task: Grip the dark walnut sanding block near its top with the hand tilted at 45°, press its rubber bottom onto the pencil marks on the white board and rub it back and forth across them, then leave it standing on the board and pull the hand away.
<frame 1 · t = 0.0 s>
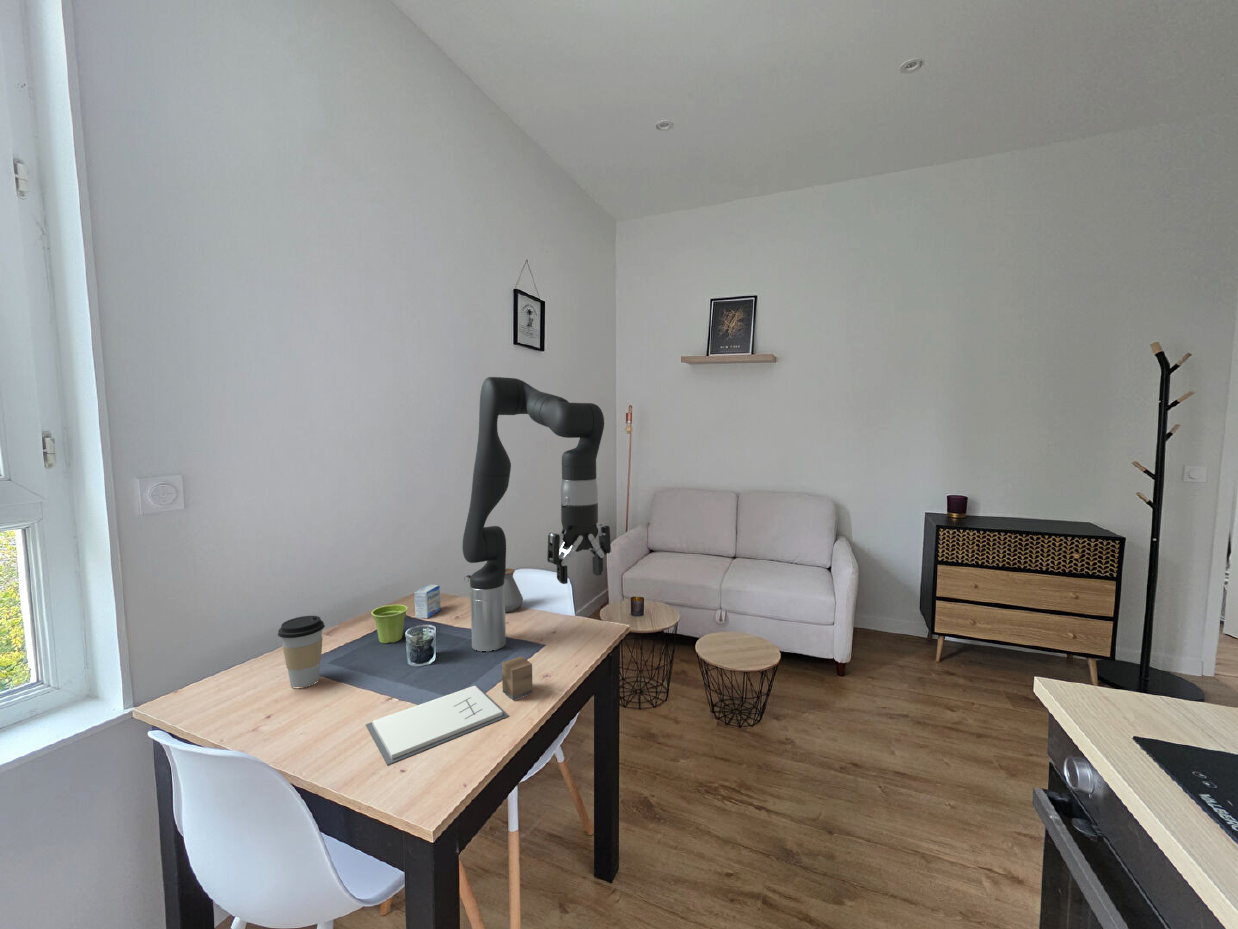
hand: (580, 578, 104), 29 cm above the table, tool pointing down, fingers open, 8 cm apart
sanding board: (438, 720, 104), on the table
sanding block: (517, 692, 115), on the table
coffee pot: (494, 613, 165), on the table
plant pot: (390, 640, 145), on the table
coffee cup: (304, 683, 121), on the table
medicine box: (428, 614, 165), on the table
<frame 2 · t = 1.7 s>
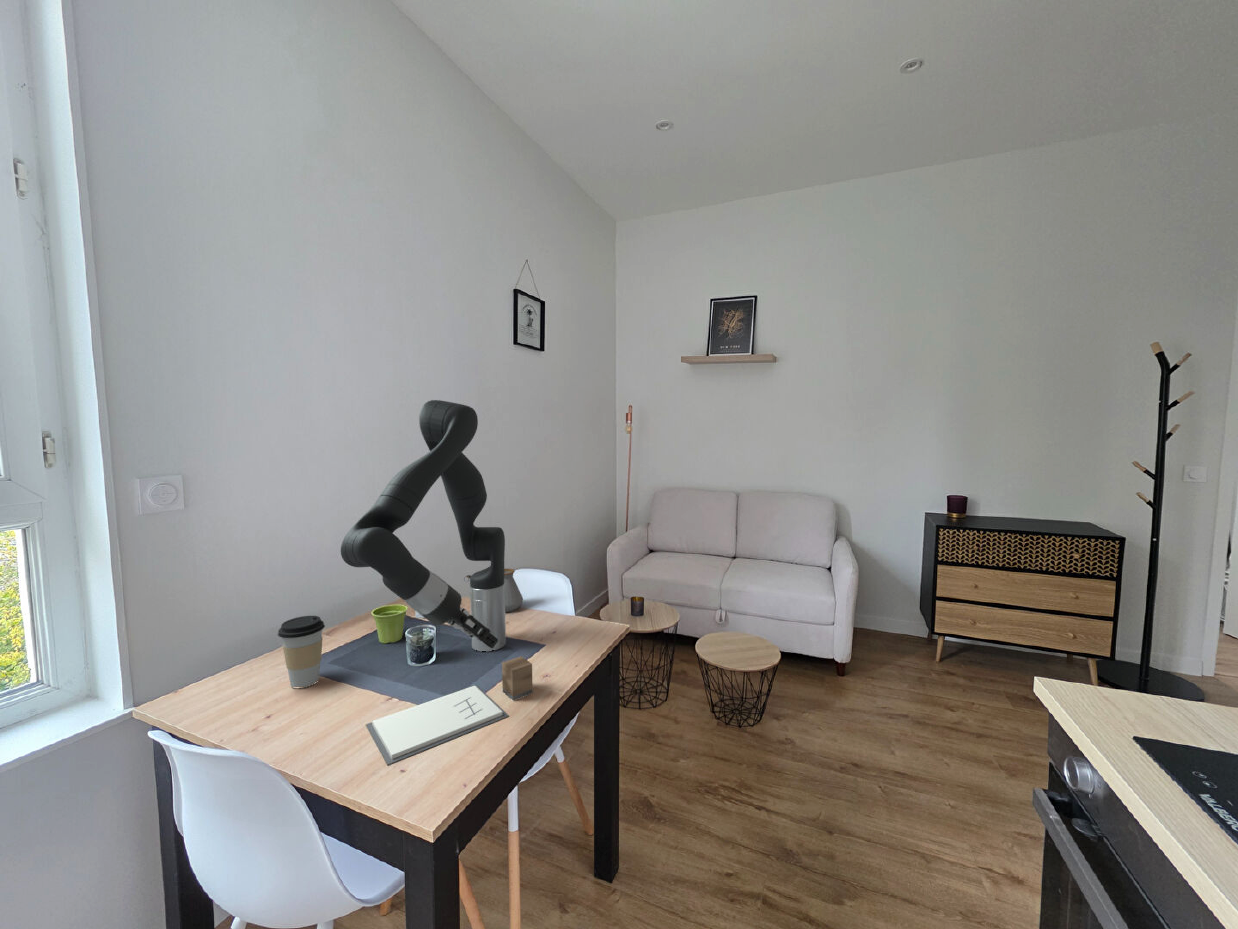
hand: (484, 638, 109), 15 cm above the table, tool tilted 45°, fingers open, 8 cm apart
nothing on the table moved.
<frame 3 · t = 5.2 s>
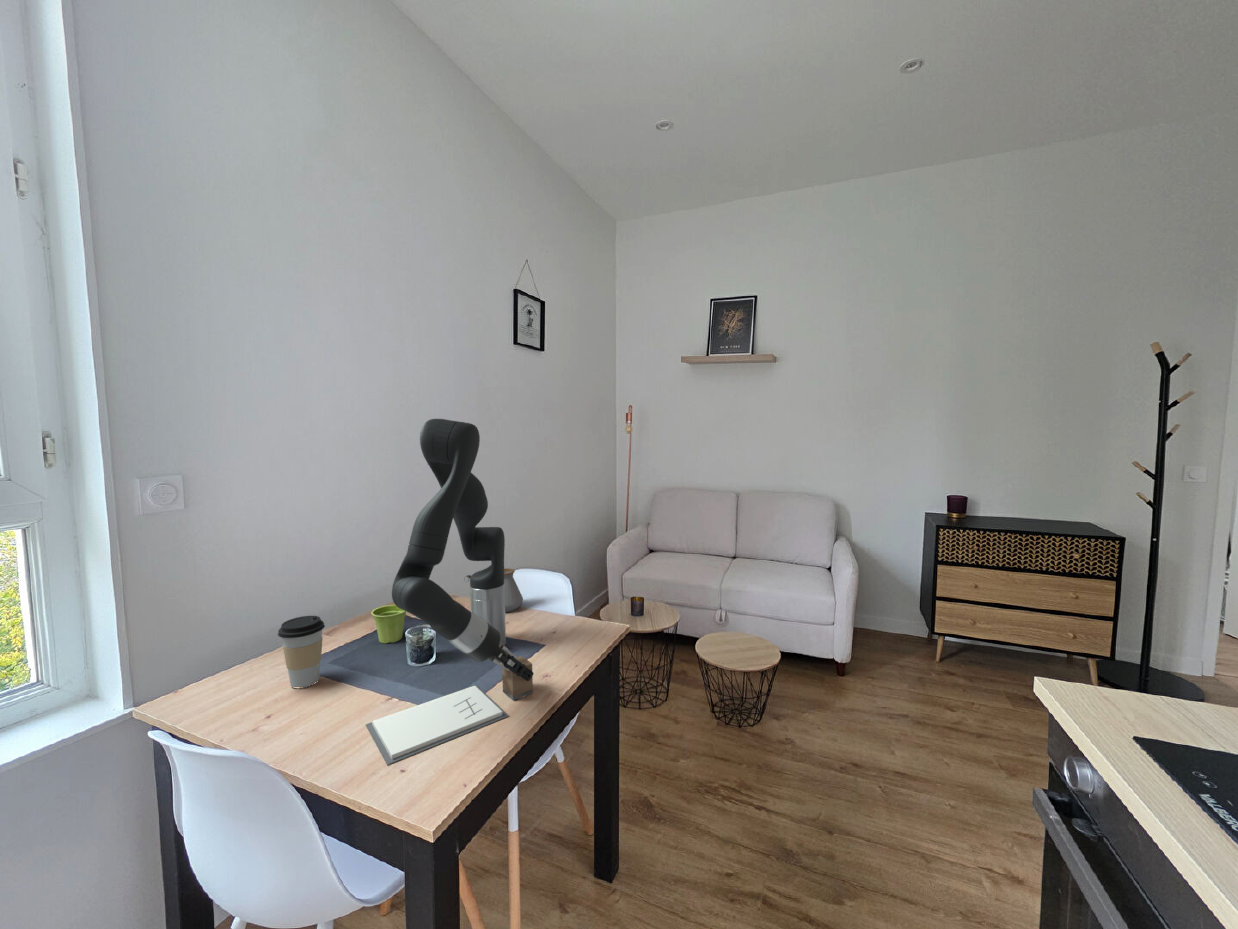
hand: (524, 672, 116), 4 cm above the table, tool tilted 45°, fingers closed on sanding block, 5 cm apart
sanding block: (517, 692, 115), on the table, touching gripper
everything else where it was.
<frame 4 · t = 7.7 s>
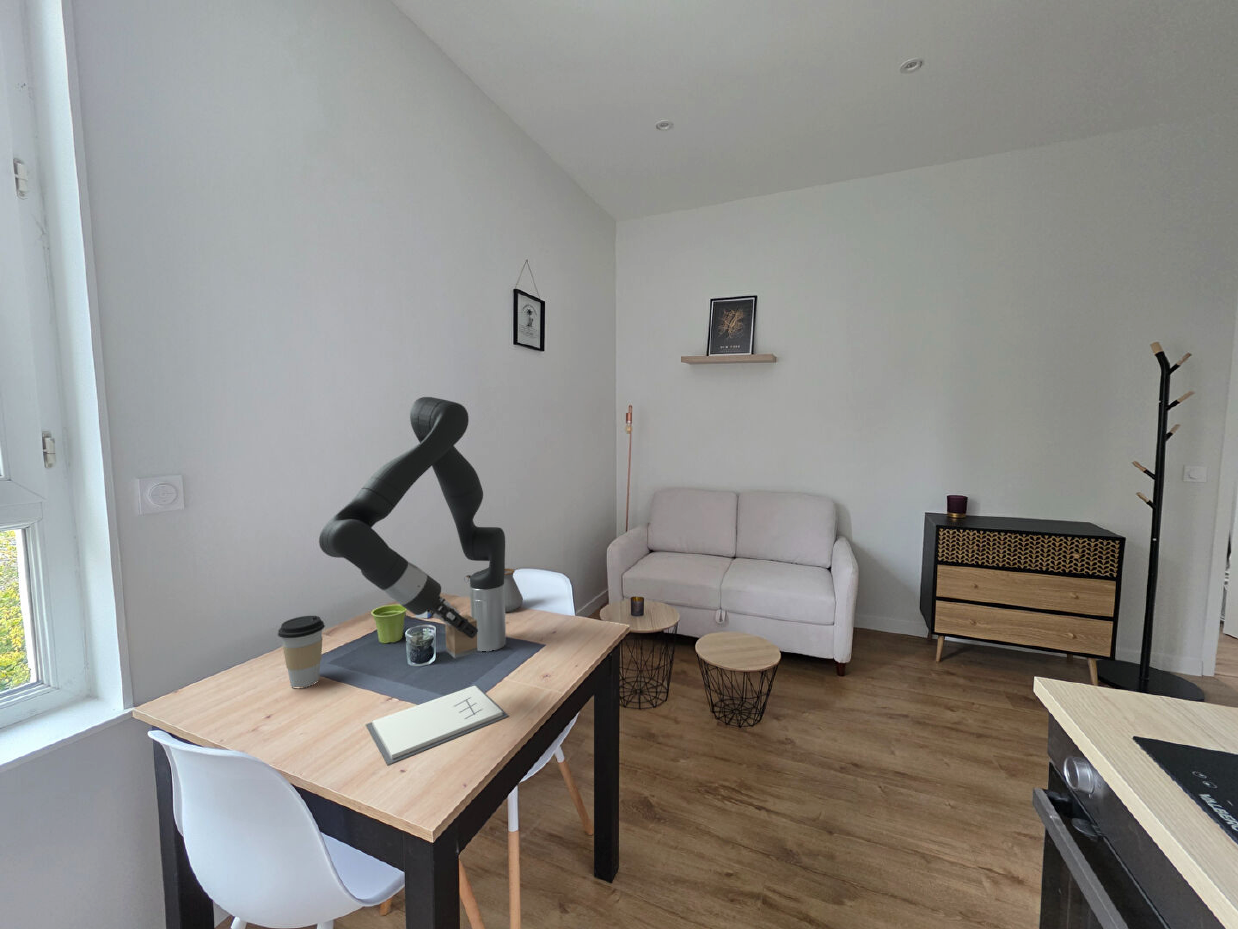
hand: (469, 630, 111), 16 cm above the table, tool tilted 45°, fingers closed on sanding block, 5 cm apart
sanding block: (461, 651, 110), point 12 cm above the table, touching gripper
everything else where it was.
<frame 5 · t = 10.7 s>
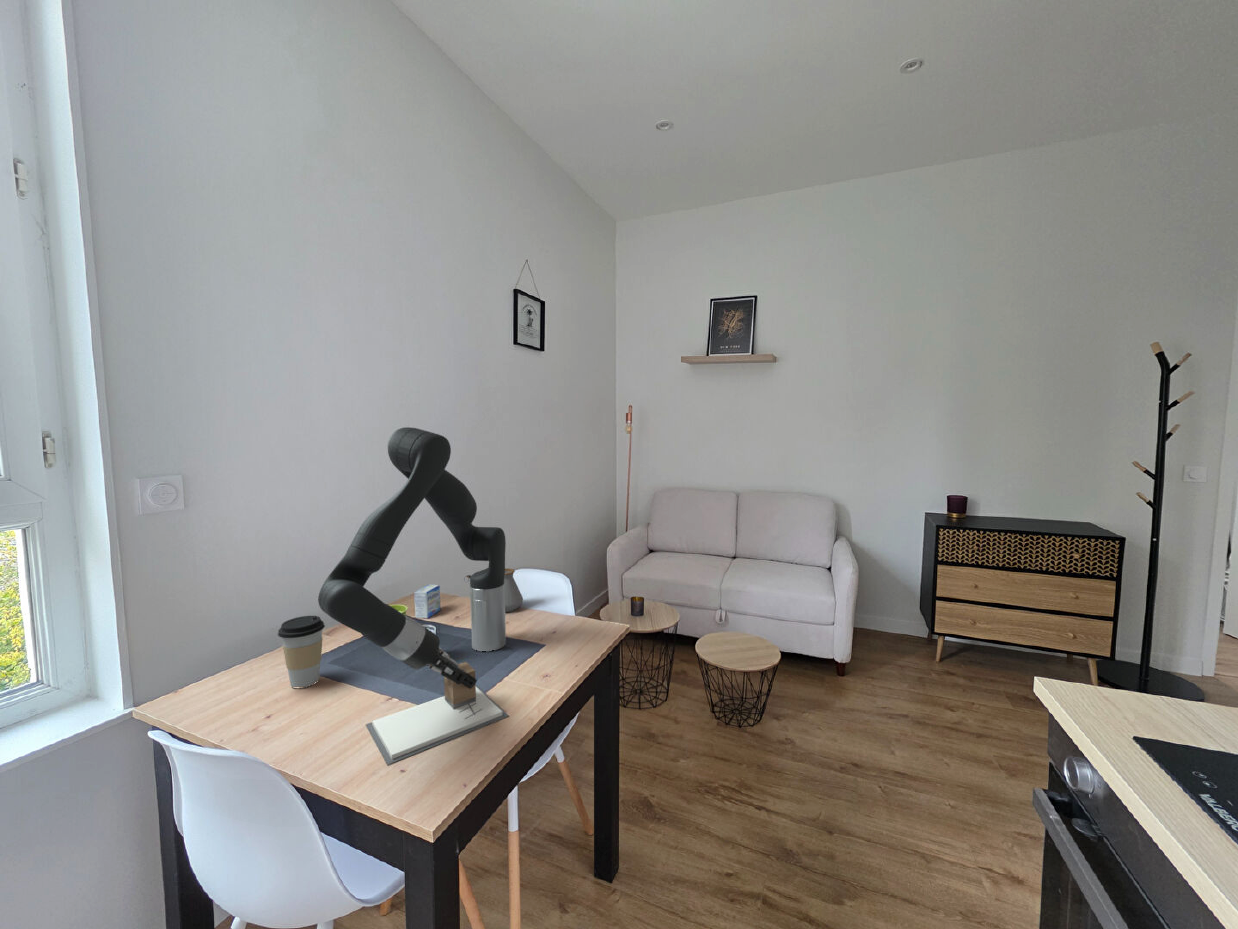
hand: (468, 679, 111), 5 cm above the table, tool tilted 45°, fingers closed on sanding block, 5 cm apart
sanding block: (460, 700, 110), point 1 cm above the table, touching gripper, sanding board
everything else where it was.
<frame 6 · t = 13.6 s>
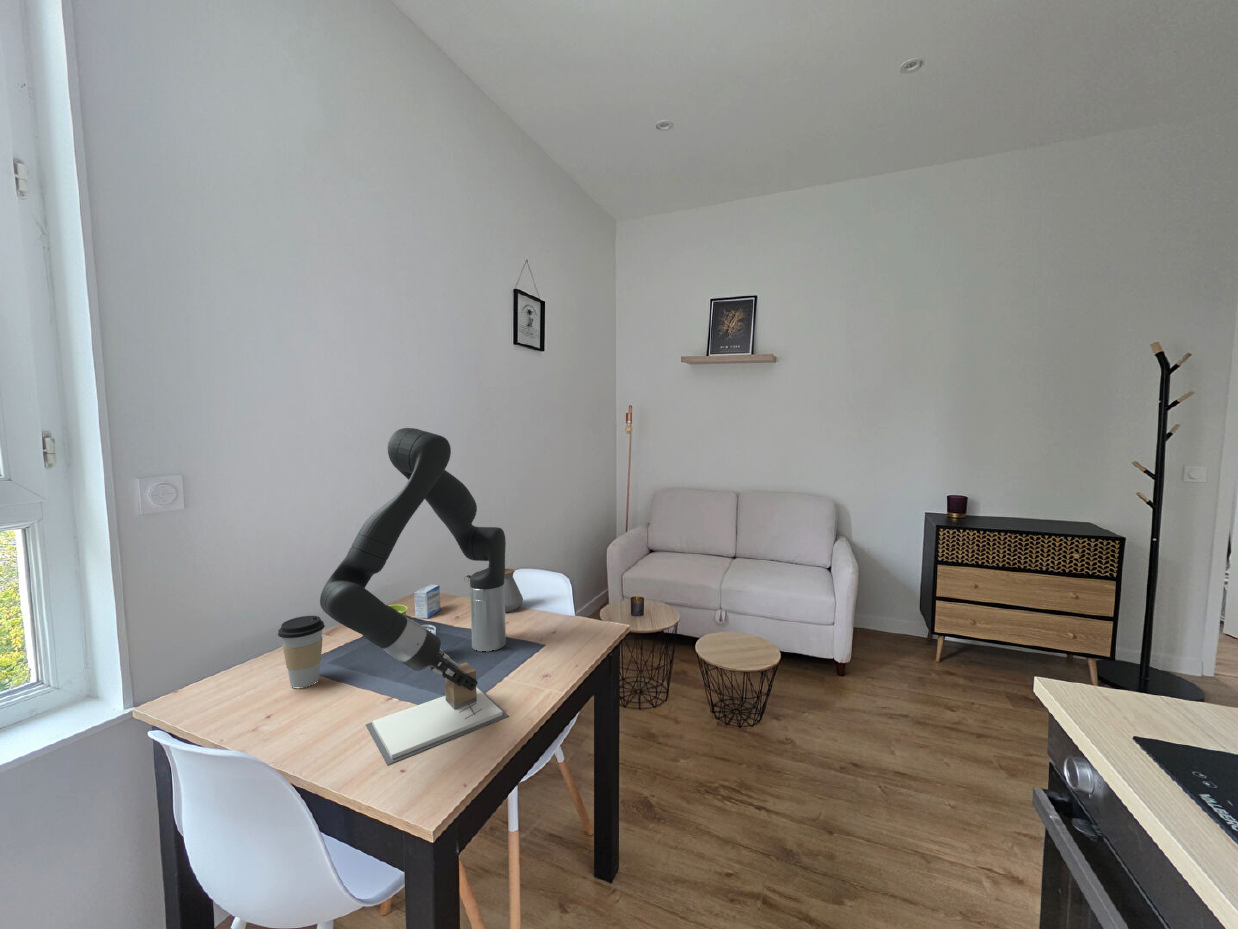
hand: (469, 681, 111), 5 cm above the table, tool tilted 45°, fingers closed on sanding block, 5 cm apart
sanding block: (461, 700, 110), point 1 cm above the table, touching gripper
everything else where it was.
when the fingers open (5 cm above the table, at t = 15.9 s): sanding block stays where it is, resting on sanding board.
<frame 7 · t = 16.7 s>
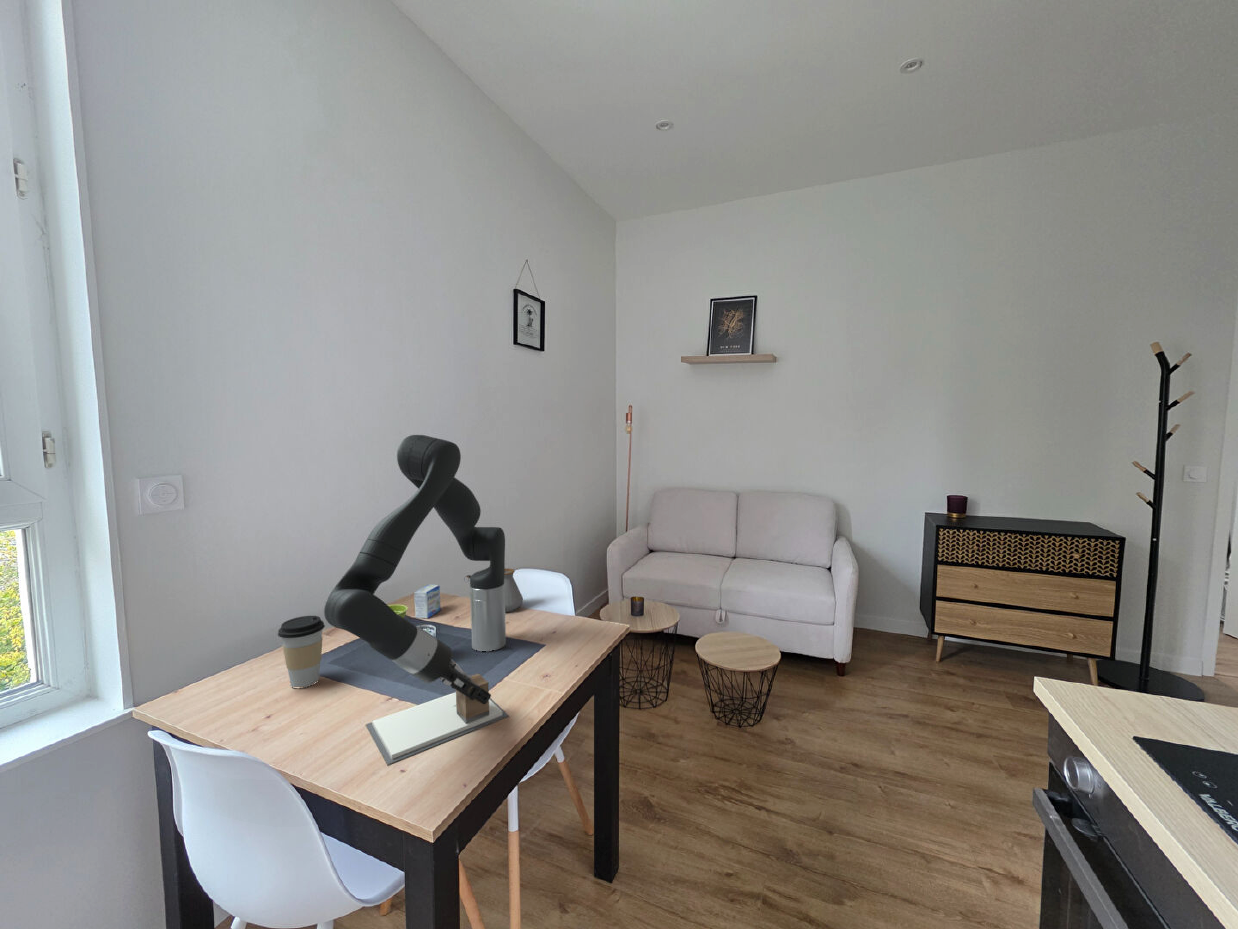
hand: (478, 691, 106), 6 cm above the table, tool tilted 45°, fingers open, 8 cm apart
sanding block: (472, 714, 105), point 1 cm above the table, touching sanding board
everything else where it was.
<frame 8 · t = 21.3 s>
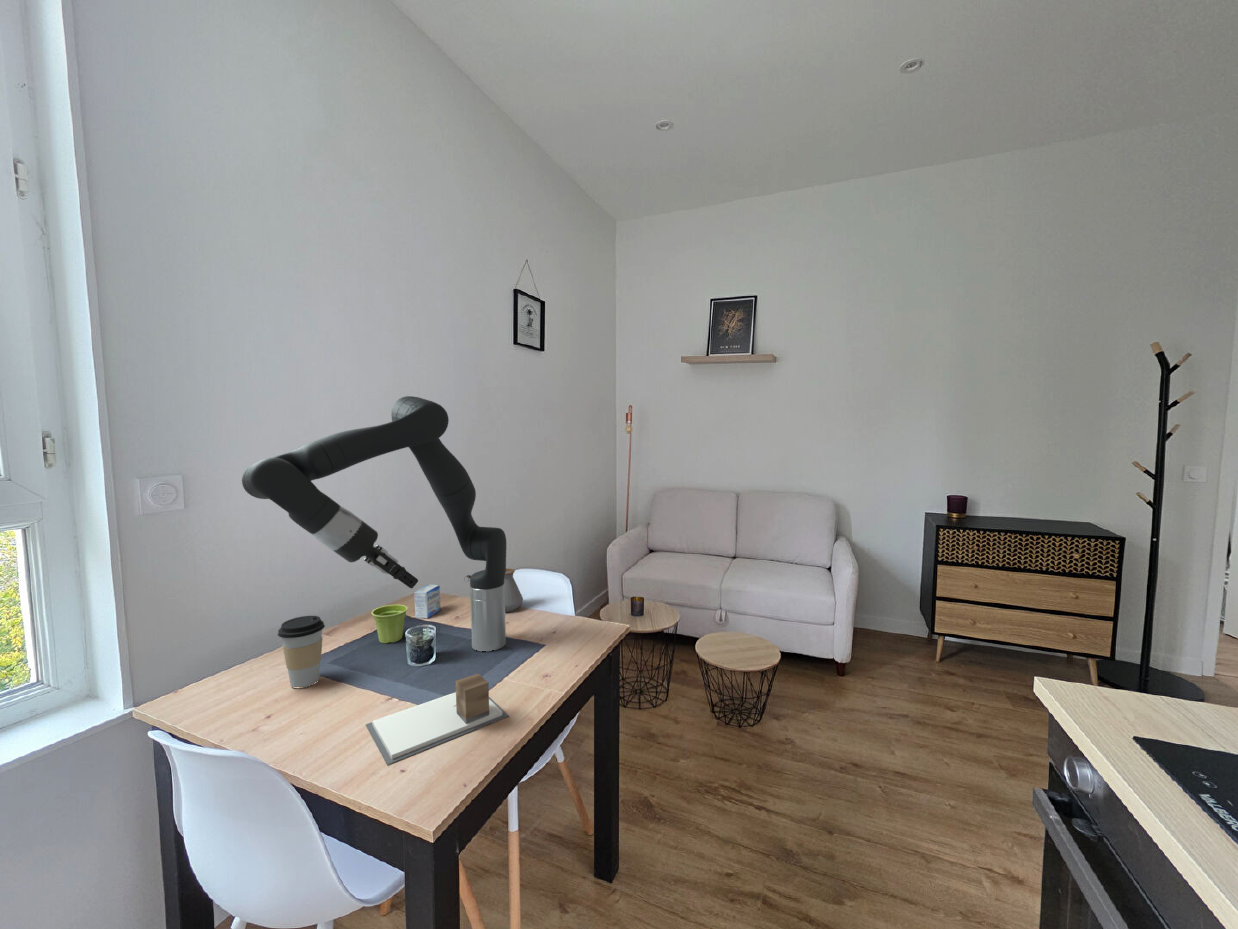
hand: (408, 579, 106), 29 cm above the table, tool tilted 45°, fingers open, 8 cm apart
nothing on the table moved.
at the end: sanding block inside the target area on the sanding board (2.0 cm from its centre), point 1.0 cm above the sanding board's base; sanding block tilted 0°; the gripper is holding nothing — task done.
